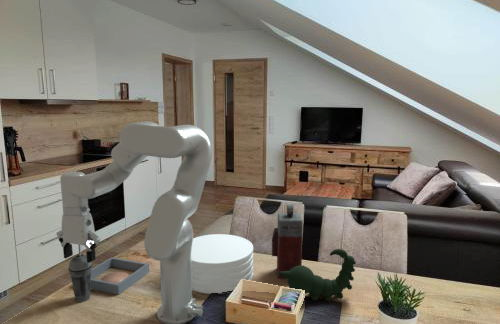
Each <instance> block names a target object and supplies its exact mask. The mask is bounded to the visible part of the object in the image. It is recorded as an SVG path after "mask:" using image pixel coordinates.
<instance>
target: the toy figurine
mask: <svg viewBox="0 0 500 324" xmlns="http://www.w3.org/2000/svg"><path fill="white" fill-rule="evenodd" d="M334 255H335V256H336V255H337V256H339V257H340V258H342V259H343V262H342V264H341V269H340V270H339V273H338V275H337V276H336V278H334V279H329V278H323V277H322V276H320V275H317V274H315V273H314V272H313V270H311V269H310V267H308V266H305V265H299V266H295V267H293V268H292V269H291V270H290V271H281V272H279V274H280V275H282V276H283V277H284V278H286V279H285V280H286V282H287V285H288V288H289V289H290V288H295V289H302V290H305V294H304V295H306V294H309V295H310V296H311V300H313V301H317V300H319V298H320V296H321V297H323V298H324V301H325V302H326V301H328V302H331V300H332V299H331V298H332V297H334V296H336V297H337V298H338V299H340V300H341V299H343V298H344V293H343V291H344V290H345V289H347V290H352V289H353V286H352V284H351V281H354V280H355V278H354V276H353V274H352V273H354V272H355V270H356V269H355V267H354V265H356V263H357V262H356V261H355V258H354V257H353V256H352V255H348V253H347V251H346V250H344V249H342V248H336V249H333V250H331V251H330V253H329V256H334ZM328 302H327V303H328Z"/></svg>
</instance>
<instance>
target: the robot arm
mask: <svg viewBox="0 0 500 324" xmlns="http://www.w3.org/2000/svg"><path fill="white" fill-rule="evenodd" d="M110 155H111V159H112V162H110V164H108V165H107V166H105V168H103V169H102V170H99V171H97V170H96V171H95V172H91V173H87V174H85V173H84V172H81V171H67V172H64V173H62V174H61V175H60V177H59V178H60V179H59V180H60V189H61V190H60V192H61V204H62V216H61V229H60V230H59V231H57V232H56V234H55V235H56V236H57V238H58V241H59V242H60V245H61V247H62V248H63V249H62V251H63V258H64V259H68V258H71V257H72V256H73V252H74V251H73V245H78V246H79V245H80V246H84V247H85V248H86V250H87V251H86V254H85V255H86V256H87V263H90V262H91V263H92V262H93V261H95V260H96V259H97V258H96V257H97V256H96V249H97V248H98V246H99V244H100V241H101V237H100V236H98V235H97V234H96V230H95V224H94V220H93V219H94V218H93V216H92V214H91V212H90V211H91V209H90V207H89V200H90V199H94V198H96V197H99V196H101V195H104V194H107V193H110V192H111V191H113V190H115V189H116V188H118V187H119V186H120V185H121V184H123V182H125V181H126V180H127V179H128V178H129V177H130V176H131V174H132V173H133V171H134V169H135V168H136V167H137V166H138V165H140V164H141V162H143V161H144V160H145V159H147V157H153V158H163V159H176V158H180V157H183V158H182V161H181V163H180V165H179V167H178V169H177V173H176V176H175V180H174V183H173V186H172V187H171V189H170V190H168V191H166V192H164V193H163V194H161V195H160V196H159V197H157V199H156V201H155V202H154V204H153V207H152V210H151V214H150V218H149V220H148V225H147V228H146V232H145V236H144V249H145V251H146V254H147V255H148V256H149V257H150V258H151V259H152V260H155V261H158V262H159V266H160V267H159V271H160V273H159V274H160V294H161V295H160V296H161V298H160V299H161V305H160V306H159V307H158V309H157V311H156V317H157V319H158V321H160V322H161V323H163V324H186V323H188V322H190V321H192V320H193V319H194V318H195V317H196V316H199V317H202V316H203V314H204V307H203V304H198V303H196V298H195V297H194V298H193V290H192V269H191V266H192V265H191V252H192V242H193V238H194V228H193V225H192V224H191V221H190V220H189V219H188V218H190V217H191V216H192V215H193V214H195V213H196V212H197V210H198V207H199V204H200V201H201V197H202V194H203V191H204V187H205V183H206V179H207V177H208V176H207V175H208V173H209V170H210V168H211V162H212V157H213V149H212V144H211V142H210V139H209V137H208V135H207V134H206V133H205V132H204V131H203V130H202V129H201V128H200V127H198V126H196V125H193V124H180V125H179V124H178V125H175V126H161V125H160V124H158V123H156V122H154V121H148V120H147V121H136V122H130V123H129V124H127V125H125V126H124V127H123V128H122V129H121V131H120V132H119V143H117V145H115V146H114V147H113V148H112V150H111V152H110Z"/></svg>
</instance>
